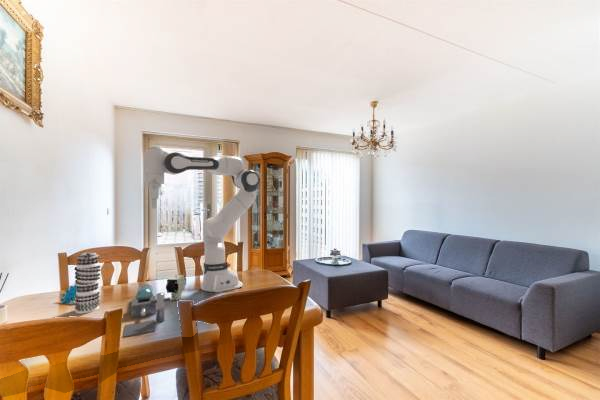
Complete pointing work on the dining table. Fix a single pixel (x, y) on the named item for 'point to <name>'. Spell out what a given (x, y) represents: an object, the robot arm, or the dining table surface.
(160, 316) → the chuck key
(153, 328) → the mat
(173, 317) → the dining table surface
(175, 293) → the pneumatic valve
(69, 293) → the gear
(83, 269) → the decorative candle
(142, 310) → the grey base teal knob
